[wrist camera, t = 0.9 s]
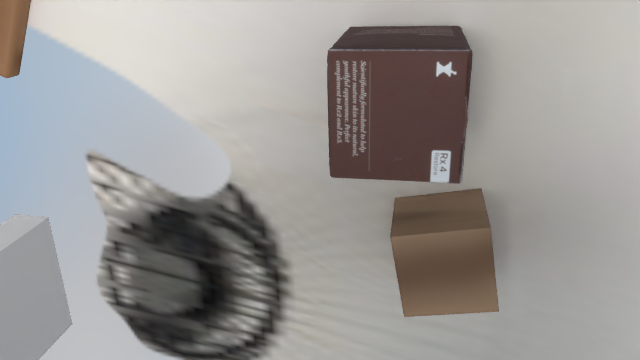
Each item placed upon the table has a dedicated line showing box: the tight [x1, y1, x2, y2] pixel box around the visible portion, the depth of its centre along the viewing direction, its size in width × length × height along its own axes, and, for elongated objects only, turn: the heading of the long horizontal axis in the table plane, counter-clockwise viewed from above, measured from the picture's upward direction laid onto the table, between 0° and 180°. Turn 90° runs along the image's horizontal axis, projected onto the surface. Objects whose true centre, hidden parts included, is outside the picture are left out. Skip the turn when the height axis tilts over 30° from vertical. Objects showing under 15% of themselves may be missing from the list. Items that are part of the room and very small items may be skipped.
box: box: [327, 26, 472, 183], centre depth 26 cm, size 6×6×7 cm
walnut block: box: [390, 189, 499, 317], centre depth 30 cm, size 5×5×5 cm
